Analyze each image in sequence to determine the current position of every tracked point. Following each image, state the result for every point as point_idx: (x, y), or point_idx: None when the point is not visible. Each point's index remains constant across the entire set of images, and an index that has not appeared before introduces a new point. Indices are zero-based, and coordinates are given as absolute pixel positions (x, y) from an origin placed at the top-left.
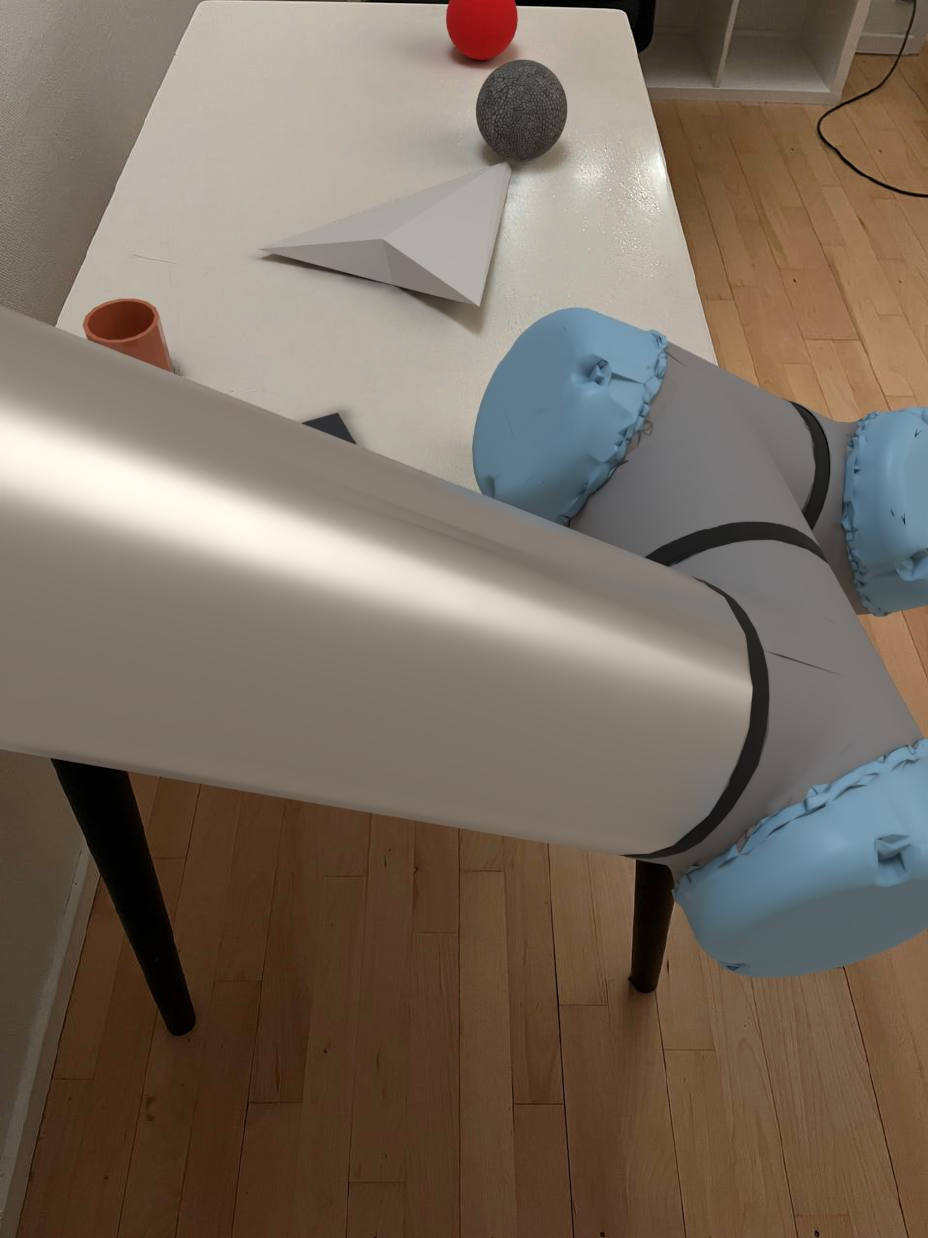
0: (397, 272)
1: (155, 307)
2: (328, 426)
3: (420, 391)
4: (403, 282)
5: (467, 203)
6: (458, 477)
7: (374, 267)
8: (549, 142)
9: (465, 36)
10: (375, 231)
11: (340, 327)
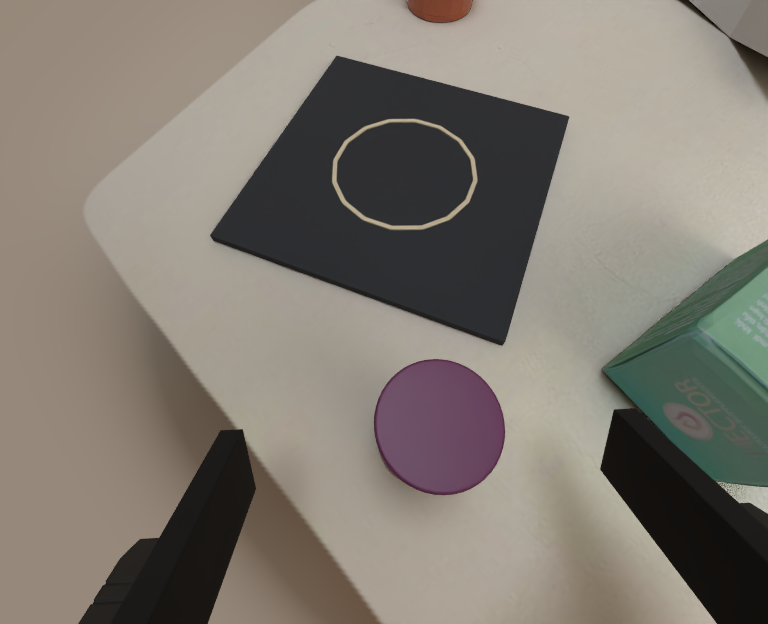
0: (748, 21)
1: None
2: (548, 123)
3: (668, 146)
4: (744, 35)
5: None
6: (631, 259)
7: (727, 7)
8: None
9: None
10: None
11: (643, 47)
